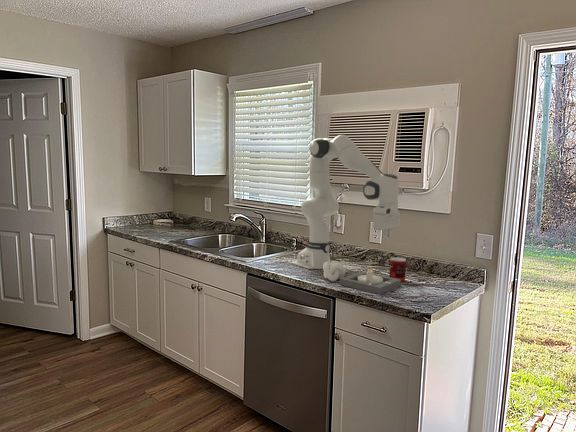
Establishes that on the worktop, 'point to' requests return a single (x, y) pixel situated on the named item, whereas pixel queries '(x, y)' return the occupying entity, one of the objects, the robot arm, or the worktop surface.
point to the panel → (380, 288)
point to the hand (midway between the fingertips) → (386, 237)
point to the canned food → (397, 268)
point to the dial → (370, 278)
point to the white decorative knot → (333, 270)
